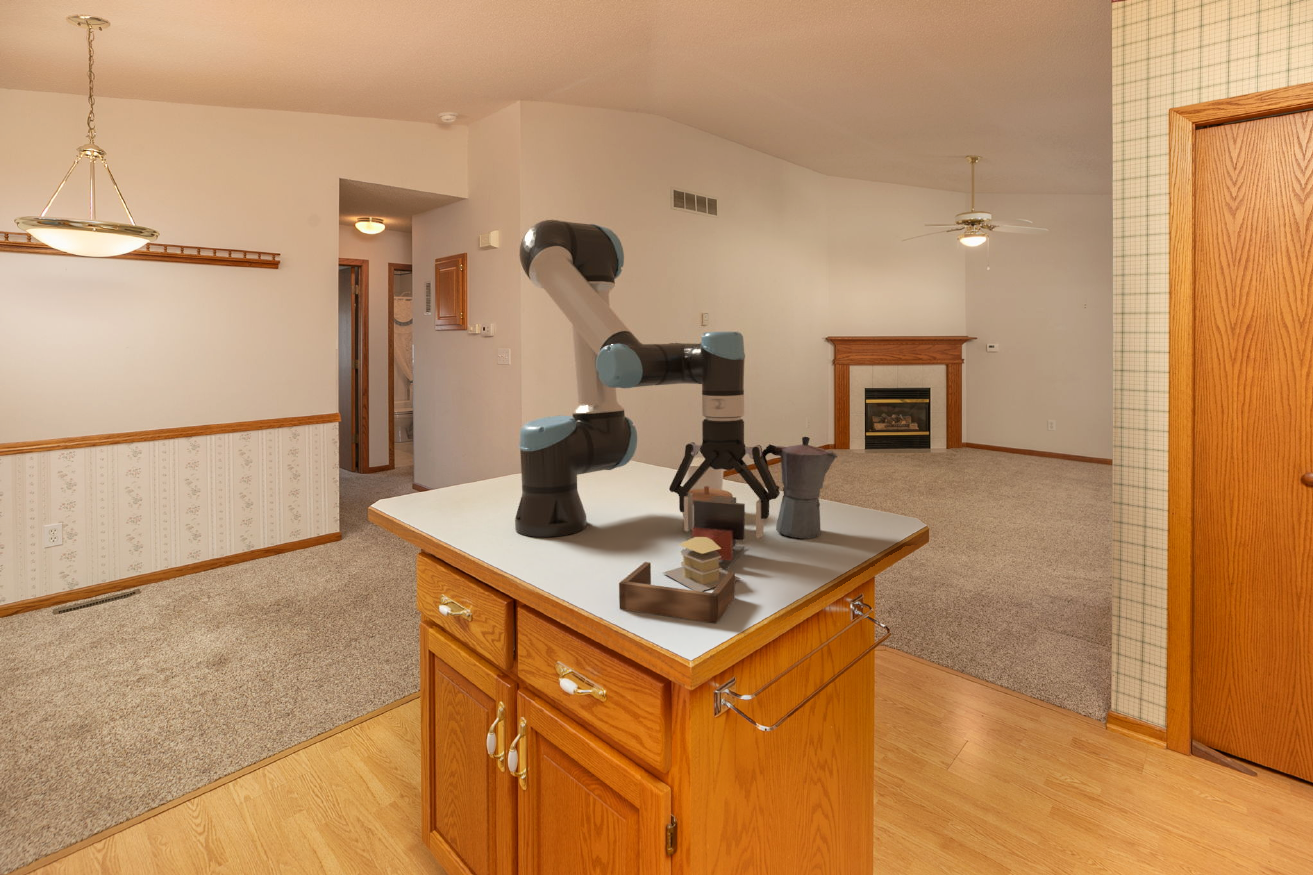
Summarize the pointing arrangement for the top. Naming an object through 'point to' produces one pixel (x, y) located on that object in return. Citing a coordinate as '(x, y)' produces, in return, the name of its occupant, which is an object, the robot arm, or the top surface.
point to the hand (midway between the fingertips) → (723, 532)
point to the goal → (674, 597)
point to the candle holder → (705, 476)
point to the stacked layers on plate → (699, 565)
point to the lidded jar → (706, 495)
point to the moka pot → (801, 487)
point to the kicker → (720, 523)
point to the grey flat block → (727, 563)
